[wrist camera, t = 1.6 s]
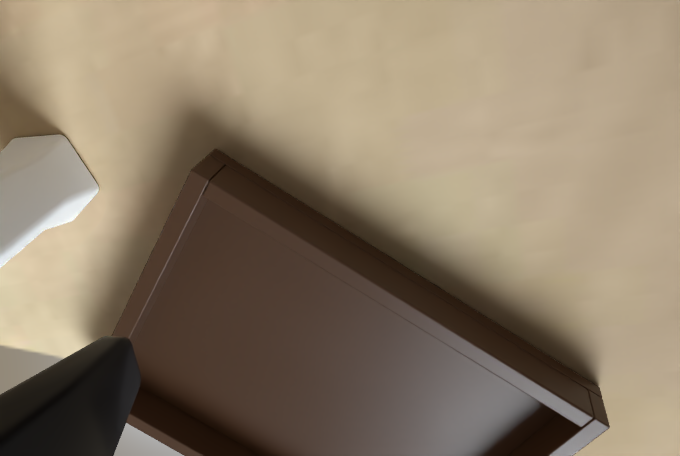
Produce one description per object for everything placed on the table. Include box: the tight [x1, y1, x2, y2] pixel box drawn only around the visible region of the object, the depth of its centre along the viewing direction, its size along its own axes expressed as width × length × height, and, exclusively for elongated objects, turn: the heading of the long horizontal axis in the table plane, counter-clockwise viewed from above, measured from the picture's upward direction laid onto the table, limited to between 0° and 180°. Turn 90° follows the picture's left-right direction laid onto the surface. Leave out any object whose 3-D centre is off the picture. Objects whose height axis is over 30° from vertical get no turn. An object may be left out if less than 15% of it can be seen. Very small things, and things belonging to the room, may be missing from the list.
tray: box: [112, 149, 610, 456], centre depth 24 cm, size 17×13×2 cm
